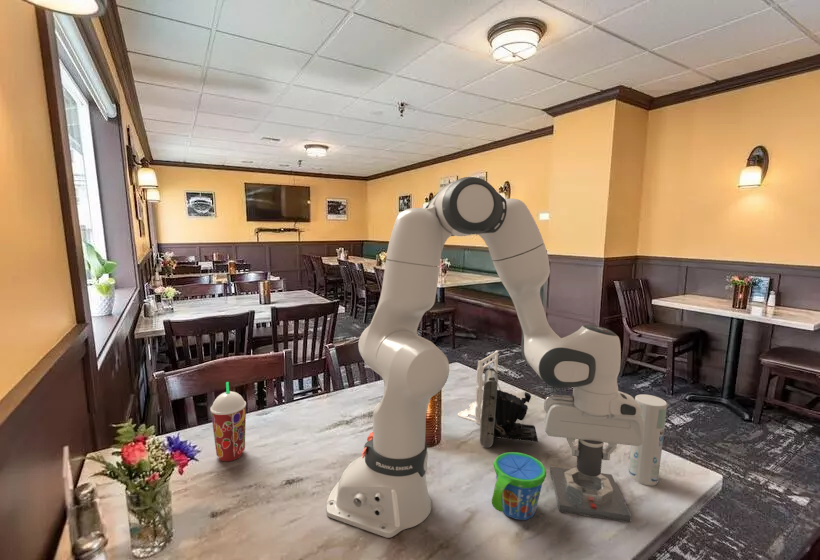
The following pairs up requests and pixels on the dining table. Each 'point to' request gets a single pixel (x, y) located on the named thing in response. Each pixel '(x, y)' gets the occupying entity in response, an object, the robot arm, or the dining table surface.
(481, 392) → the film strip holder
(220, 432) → the smoothie
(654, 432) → the spray can
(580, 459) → the lens
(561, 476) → the mount plate
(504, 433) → the vintage camera
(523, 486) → the snack cup
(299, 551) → the dining table surface
